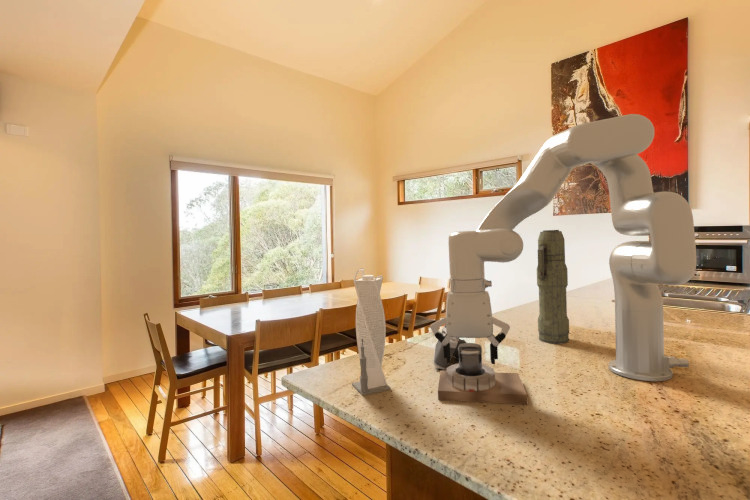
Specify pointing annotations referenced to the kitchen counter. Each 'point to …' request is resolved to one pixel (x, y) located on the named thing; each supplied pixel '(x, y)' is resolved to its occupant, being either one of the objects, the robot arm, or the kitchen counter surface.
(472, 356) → the lens
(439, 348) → the camera
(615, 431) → the kitchen counter surface
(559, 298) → the thermos
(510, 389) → the mount board
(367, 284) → the skyscraper
